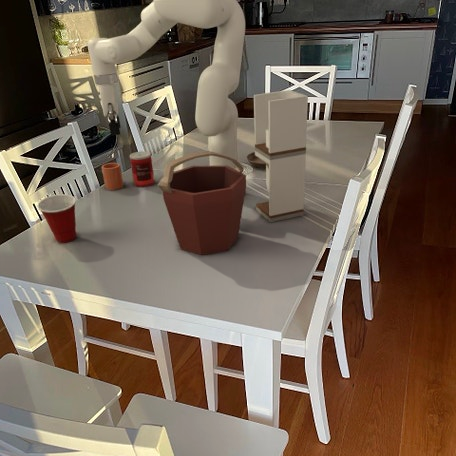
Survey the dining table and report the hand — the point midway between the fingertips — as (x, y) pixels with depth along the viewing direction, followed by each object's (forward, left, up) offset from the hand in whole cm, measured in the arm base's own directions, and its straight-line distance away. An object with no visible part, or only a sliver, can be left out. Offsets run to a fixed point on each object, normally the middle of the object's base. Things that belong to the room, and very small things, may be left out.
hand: (116, 131), depth 169 cm
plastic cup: (-42, +17, -20) cm, 49 cm away
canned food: (-1, -7, -20) cm, 21 cm away
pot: (-1, +4, -20) cm, 20 cm away
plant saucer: (+7, -57, -20) cm, 61 cm away
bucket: (-54, -24, -20) cm, 62 cm away
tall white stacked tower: (-41, -49, -20) cm, 67 cm away
